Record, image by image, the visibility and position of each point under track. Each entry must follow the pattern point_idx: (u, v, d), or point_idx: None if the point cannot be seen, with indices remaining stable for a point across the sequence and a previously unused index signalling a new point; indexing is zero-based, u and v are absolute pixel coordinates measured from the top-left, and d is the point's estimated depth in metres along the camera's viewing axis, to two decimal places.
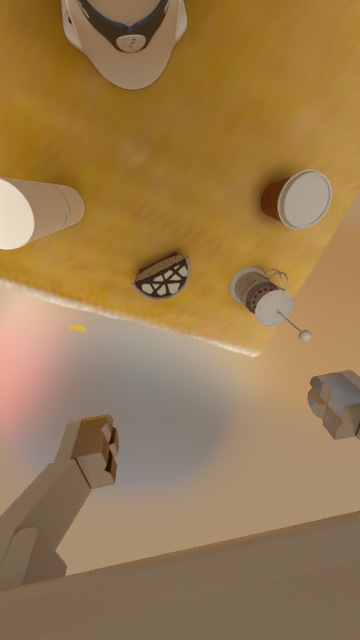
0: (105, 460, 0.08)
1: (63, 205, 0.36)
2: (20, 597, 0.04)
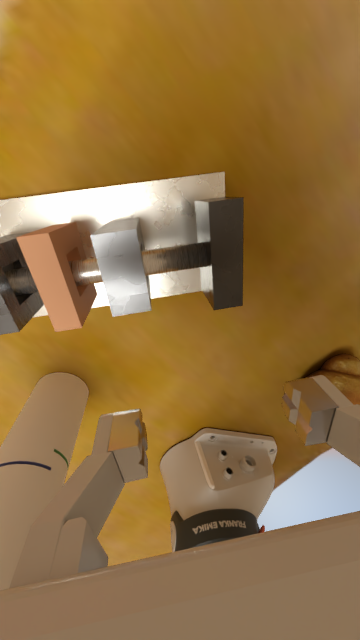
0: (140, 453, 0.08)
1: None
2: (20, 597, 0.04)
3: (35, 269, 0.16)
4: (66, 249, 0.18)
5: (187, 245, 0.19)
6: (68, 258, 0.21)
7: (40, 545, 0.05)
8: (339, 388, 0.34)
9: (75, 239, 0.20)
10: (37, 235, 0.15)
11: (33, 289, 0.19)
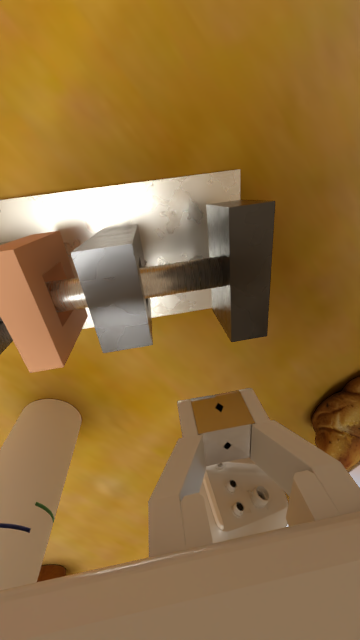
0: (226, 436, 0.08)
1: None
2: (20, 597, 0.04)
3: None
4: (43, 268, 0.14)
5: (198, 261, 0.15)
6: (50, 276, 0.17)
7: (165, 519, 0.06)
8: None
9: (57, 253, 0.16)
10: None
11: None
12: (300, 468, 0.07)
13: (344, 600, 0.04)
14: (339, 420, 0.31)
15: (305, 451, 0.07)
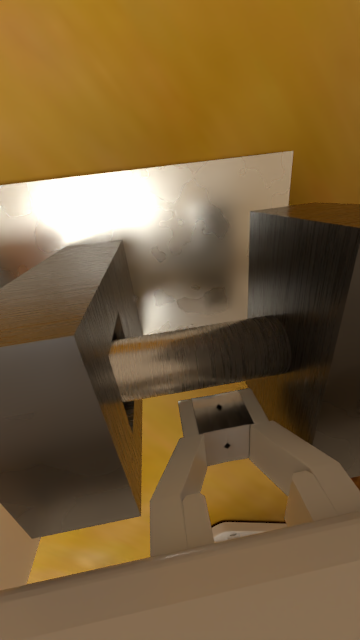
0: (227, 436, 0.08)
1: None
2: (20, 597, 0.04)
3: None
4: None
5: (239, 329, 0.07)
6: None
7: (166, 518, 0.06)
8: None
9: None
10: None
11: None
12: (298, 468, 0.07)
13: (344, 600, 0.04)
14: None
15: (304, 451, 0.07)
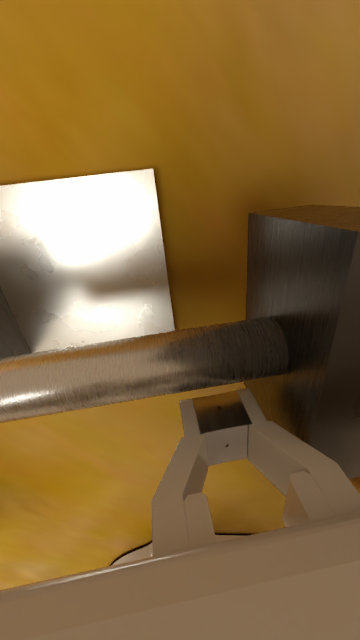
0: (229, 436, 0.08)
1: None
2: (20, 597, 0.04)
3: None
4: None
5: (236, 330, 0.07)
6: None
7: (168, 518, 0.06)
8: None
9: None
10: None
11: None
12: (296, 468, 0.07)
13: (344, 600, 0.04)
14: None
15: (302, 452, 0.07)
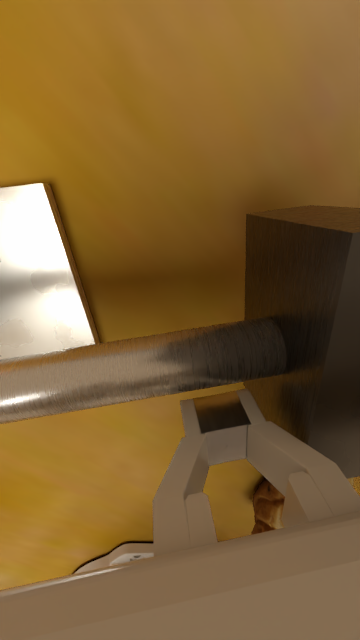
0: (229, 436, 0.08)
1: None
2: (20, 597, 0.04)
3: None
4: None
5: (234, 331, 0.07)
6: None
7: (169, 518, 0.06)
8: None
9: None
10: None
11: None
12: (295, 469, 0.07)
13: (344, 600, 0.04)
14: (280, 517, 0.23)
15: (300, 452, 0.07)
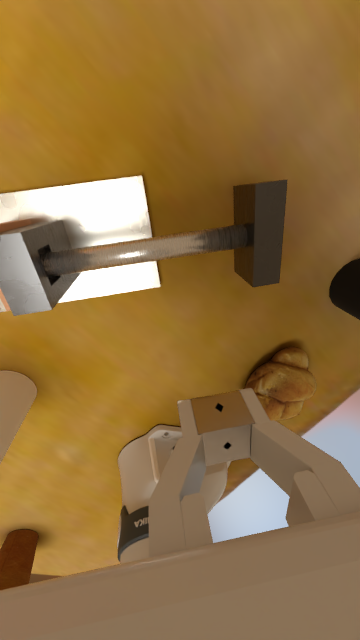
0: (226, 436, 0.08)
1: None
2: (20, 597, 0.04)
3: None
4: None
5: (228, 226, 0.21)
6: None
7: (165, 519, 0.06)
8: (282, 379, 0.34)
9: None
10: None
11: (88, 267, 0.20)
12: (299, 467, 0.07)
13: (344, 600, 0.04)
14: (261, 384, 0.36)
15: (305, 451, 0.07)
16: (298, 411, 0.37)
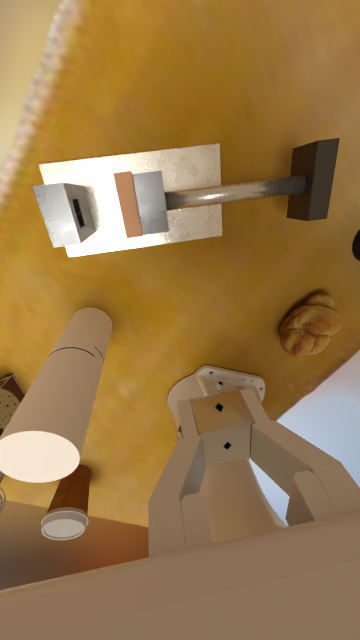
0: (226, 436, 0.08)
1: None
2: (20, 597, 0.04)
3: (120, 194, 0.28)
4: (134, 186, 0.30)
5: (291, 176, 0.29)
6: None
7: (165, 519, 0.06)
8: (315, 315, 0.42)
9: None
10: (125, 172, 0.27)
11: (192, 203, 0.28)
12: (299, 468, 0.07)
13: (344, 600, 0.04)
14: (297, 321, 0.44)
15: (305, 451, 0.07)
16: (326, 345, 0.45)
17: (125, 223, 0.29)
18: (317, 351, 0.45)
